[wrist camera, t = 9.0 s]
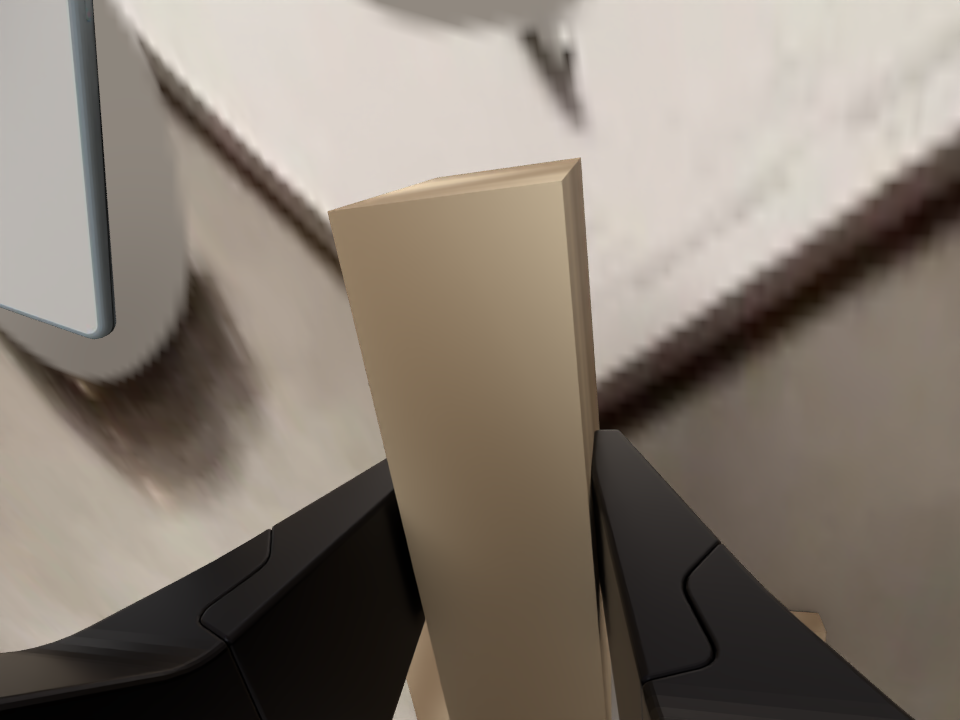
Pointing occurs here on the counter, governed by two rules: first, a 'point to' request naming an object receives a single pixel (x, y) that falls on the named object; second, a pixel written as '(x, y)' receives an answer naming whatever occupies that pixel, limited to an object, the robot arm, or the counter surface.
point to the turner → (490, 428)
